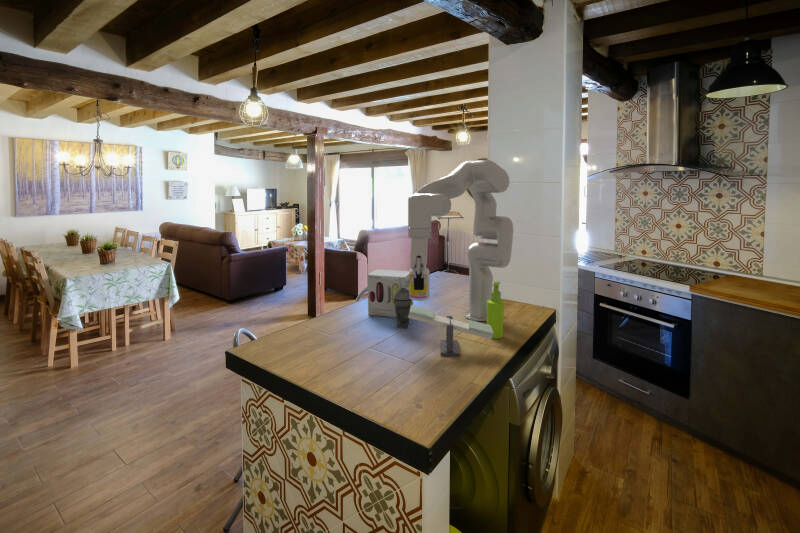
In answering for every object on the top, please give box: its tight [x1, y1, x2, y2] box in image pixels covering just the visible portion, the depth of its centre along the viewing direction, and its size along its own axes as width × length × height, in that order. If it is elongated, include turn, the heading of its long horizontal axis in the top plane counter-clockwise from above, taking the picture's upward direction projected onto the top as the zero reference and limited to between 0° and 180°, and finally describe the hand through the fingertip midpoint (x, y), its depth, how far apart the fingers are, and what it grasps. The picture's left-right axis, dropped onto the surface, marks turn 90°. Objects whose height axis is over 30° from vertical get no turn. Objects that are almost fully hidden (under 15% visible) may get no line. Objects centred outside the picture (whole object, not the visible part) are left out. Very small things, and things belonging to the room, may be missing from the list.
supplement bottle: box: [408, 262, 431, 302], centre depth 136 cm, size 7×7×13 cm
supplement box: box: [367, 268, 414, 318], centre depth 179 cm, size 17×13×18 cm
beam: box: [408, 304, 494, 340], centre depth 137 cm, size 28×8×3 cm, turn 86°
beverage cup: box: [394, 277, 411, 330], centre depth 160 cm, size 7×7×20 cm
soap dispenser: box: [486, 281, 505, 340], centre depth 150 cm, size 6×7×20 cm
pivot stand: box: [439, 315, 460, 357], centre depth 138 cm, size 6×12×10 cm, turn 175°
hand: (419, 286), depth 136 cm, fingers closed on supplement bottle, 6 cm apart
